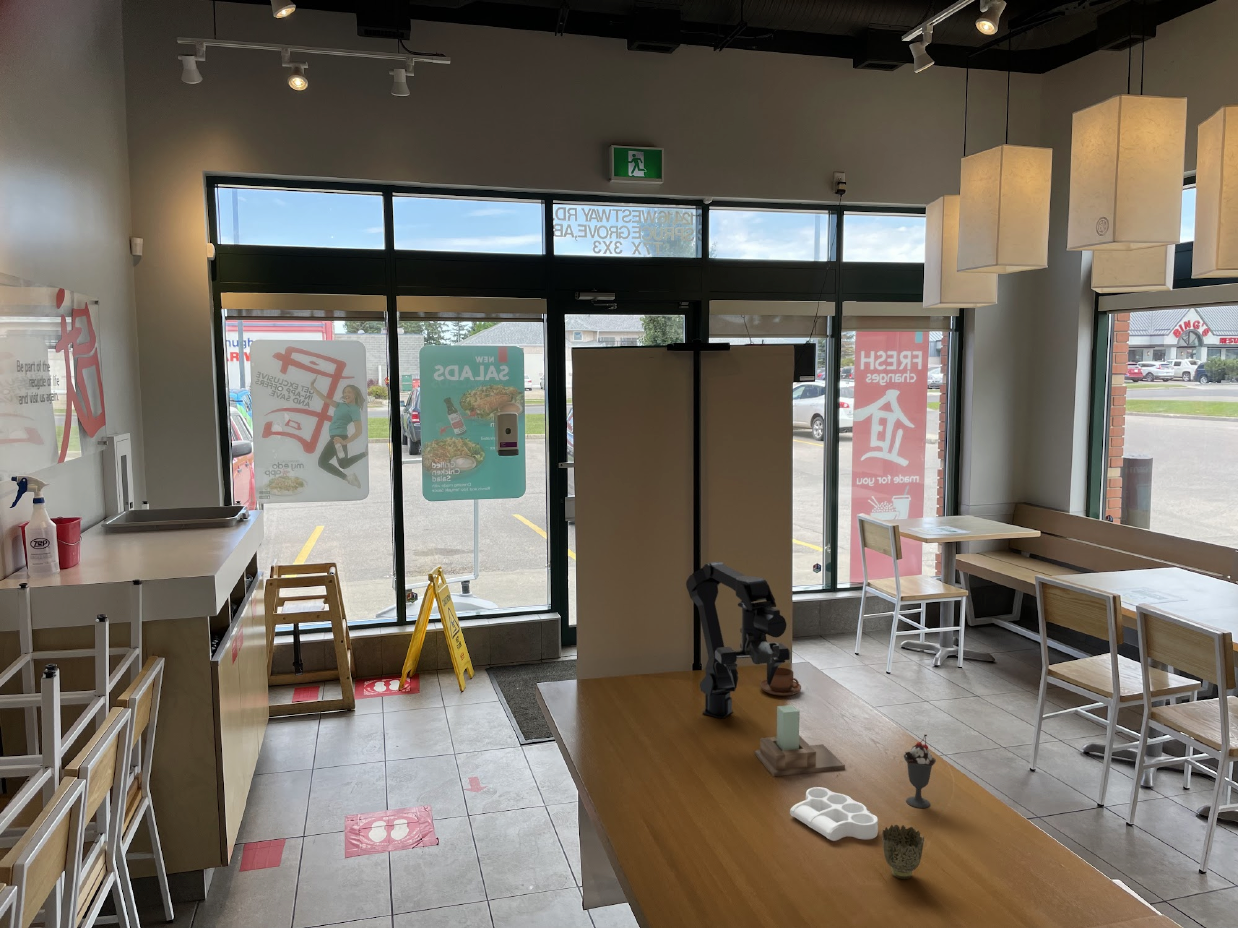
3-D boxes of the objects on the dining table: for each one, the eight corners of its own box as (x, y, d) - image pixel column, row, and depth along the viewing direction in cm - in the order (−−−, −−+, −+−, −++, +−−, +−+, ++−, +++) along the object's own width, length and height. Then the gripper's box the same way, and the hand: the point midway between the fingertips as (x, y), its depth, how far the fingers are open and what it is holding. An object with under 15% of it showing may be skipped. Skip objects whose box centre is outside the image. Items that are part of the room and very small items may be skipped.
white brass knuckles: (779, 812, 185) (829, 795, 193) (841, 851, 170) (892, 831, 177) (779, 797, 185) (829, 781, 192) (841, 835, 169) (893, 816, 177)
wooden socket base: (773, 776, 201) (773, 757, 201) (755, 754, 213) (755, 736, 212) (844, 768, 205) (845, 750, 205) (822, 747, 217) (823, 730, 216)
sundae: (933, 797, 191) (936, 732, 189) (934, 812, 185) (936, 744, 183) (902, 793, 193) (904, 728, 192) (901, 807, 187) (904, 740, 185)
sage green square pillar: (782, 763, 206) (783, 712, 205) (776, 755, 210) (777, 706, 209) (798, 761, 207) (799, 711, 205) (791, 754, 211) (792, 704, 209)
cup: (874, 864, 165) (876, 824, 164) (912, 862, 165) (913, 822, 164) (890, 887, 157) (891, 845, 156) (929, 885, 158) (931, 843, 157)
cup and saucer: (805, 688, 259) (805, 668, 259) (795, 701, 248) (796, 680, 248) (766, 682, 264) (766, 662, 264) (755, 695, 253) (755, 674, 253)
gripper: (728, 638, 212) (728, 699, 214) (799, 633, 216) (798, 694, 218) (714, 625, 223) (713, 684, 225) (782, 621, 227) (781, 679, 229)
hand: (752, 685), depth 224 cm, fingers open, 9 cm apart
